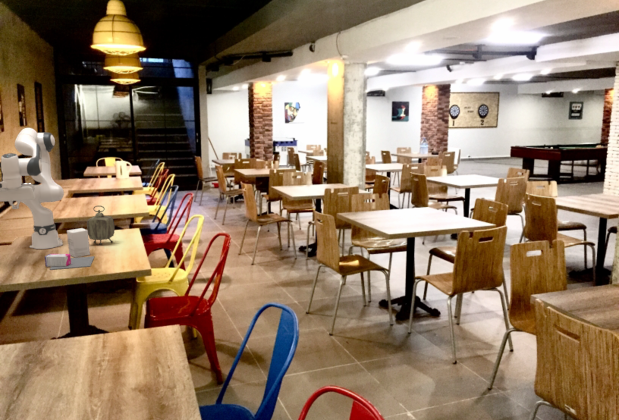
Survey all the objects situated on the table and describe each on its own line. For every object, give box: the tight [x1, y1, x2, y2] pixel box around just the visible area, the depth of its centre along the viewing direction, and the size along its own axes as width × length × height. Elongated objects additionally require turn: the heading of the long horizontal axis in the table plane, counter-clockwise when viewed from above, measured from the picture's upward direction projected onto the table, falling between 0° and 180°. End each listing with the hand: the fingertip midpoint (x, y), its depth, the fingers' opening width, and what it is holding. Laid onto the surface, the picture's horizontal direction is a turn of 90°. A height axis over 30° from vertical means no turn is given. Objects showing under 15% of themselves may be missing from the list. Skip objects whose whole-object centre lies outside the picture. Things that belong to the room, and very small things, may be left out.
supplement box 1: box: [44, 253, 72, 267], centre depth 280 cm, size 6×6×12 cm
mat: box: [49, 255, 95, 271], centre depth 285 cm, size 20×20×1 cm
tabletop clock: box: [86, 205, 115, 246], centre depth 325 cm, size 14×9×25 cm, turn 92°
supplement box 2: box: [66, 227, 91, 258], centre depth 301 cm, size 9×9×15 cm
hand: (15, 208), depth 282 cm, fingers closed
